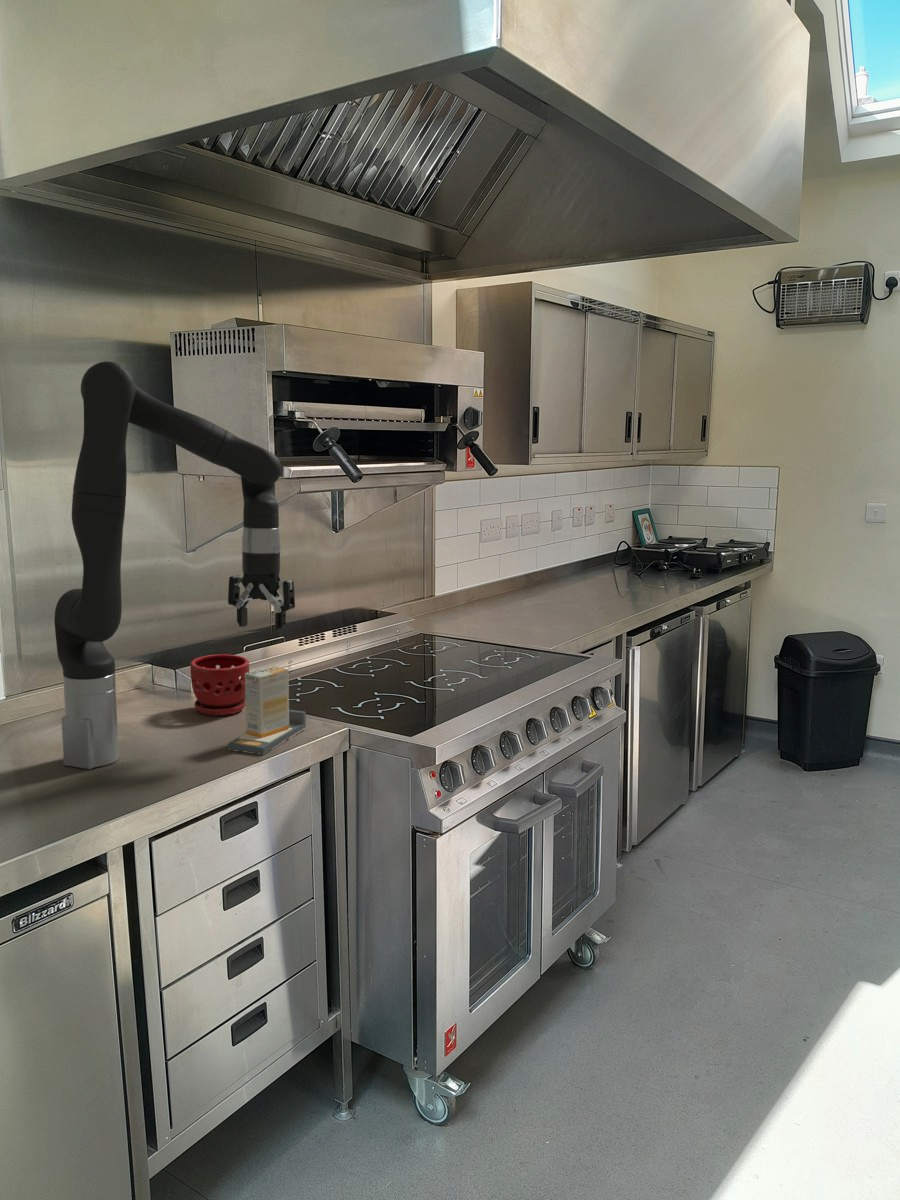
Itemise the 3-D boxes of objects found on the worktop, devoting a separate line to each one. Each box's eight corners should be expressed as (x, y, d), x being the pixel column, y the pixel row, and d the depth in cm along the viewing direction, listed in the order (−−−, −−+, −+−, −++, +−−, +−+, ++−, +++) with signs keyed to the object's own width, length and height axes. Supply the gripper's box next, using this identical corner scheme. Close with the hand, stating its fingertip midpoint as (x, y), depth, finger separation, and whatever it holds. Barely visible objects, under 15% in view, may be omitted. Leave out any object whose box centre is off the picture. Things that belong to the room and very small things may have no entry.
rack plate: (263, 755, 179) (263, 735, 178) (228, 750, 181) (227, 731, 180) (305, 729, 195) (305, 711, 195) (273, 725, 198) (273, 707, 197)
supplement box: (274, 724, 193) (273, 665, 191) (290, 729, 190) (289, 668, 188) (244, 733, 186) (243, 672, 184) (260, 738, 183) (259, 676, 181)
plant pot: (179, 712, 206) (178, 661, 204) (223, 699, 217) (222, 651, 215) (218, 722, 199) (217, 670, 197) (261, 709, 209) (261, 659, 207)
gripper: (220, 549, 181) (221, 628, 183) (282, 553, 176) (282, 634, 179) (240, 546, 188) (241, 622, 190) (301, 550, 183) (301, 628, 186)
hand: (261, 628), depth 184 cm, fingers open, 8 cm apart
